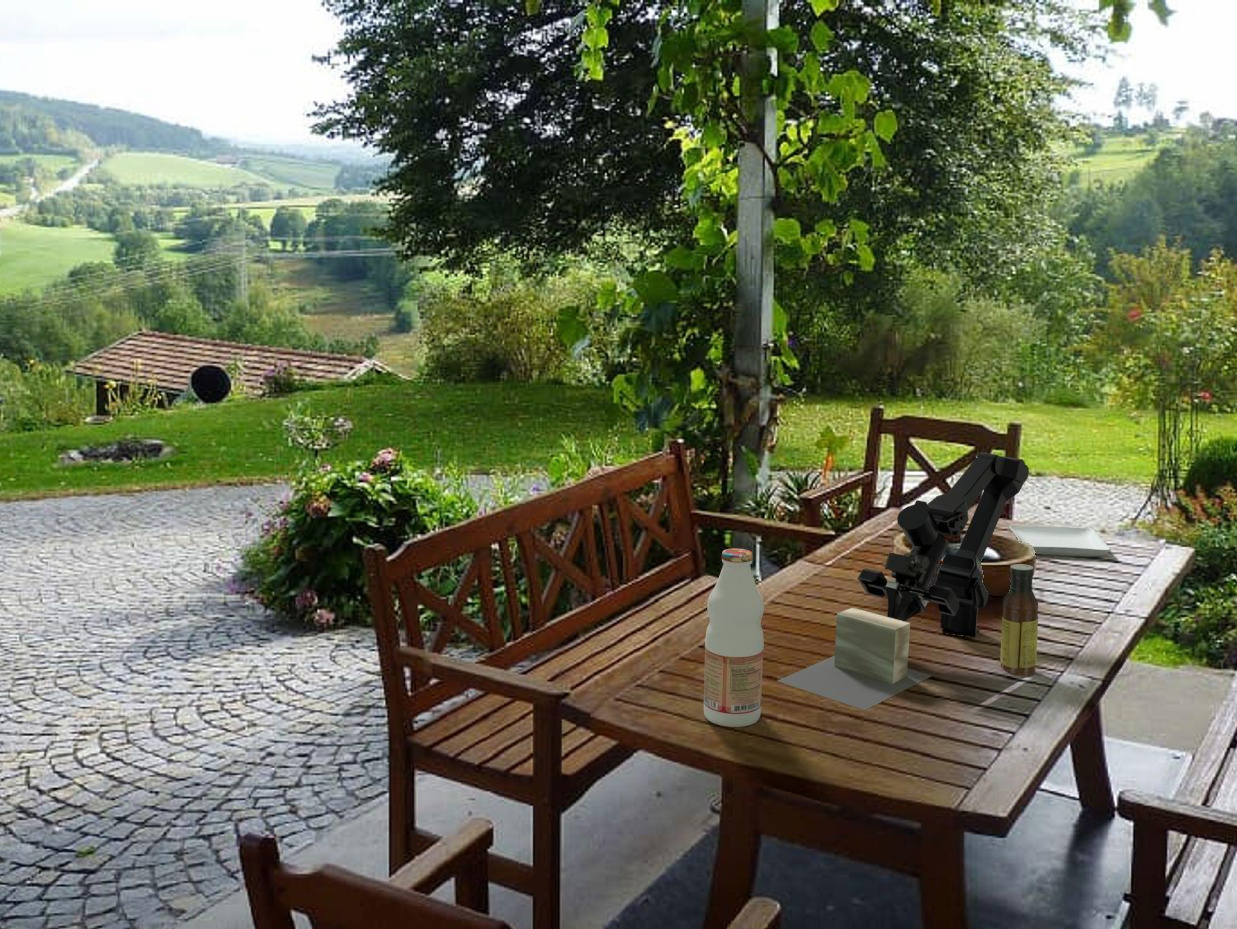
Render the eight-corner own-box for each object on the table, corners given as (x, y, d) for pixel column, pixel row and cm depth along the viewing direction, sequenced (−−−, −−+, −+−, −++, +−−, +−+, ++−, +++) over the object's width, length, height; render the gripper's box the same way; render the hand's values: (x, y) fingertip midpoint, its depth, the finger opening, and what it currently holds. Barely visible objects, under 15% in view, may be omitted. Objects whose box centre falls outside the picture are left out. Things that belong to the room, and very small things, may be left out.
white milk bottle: (693, 720, 190) (698, 554, 185) (717, 701, 198) (722, 541, 193) (747, 733, 186) (753, 563, 180) (769, 712, 194) (775, 549, 189)
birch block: (849, 659, 217) (852, 607, 215) (906, 676, 209) (910, 623, 207) (834, 666, 213) (836, 613, 211) (892, 683, 205) (895, 629, 203)
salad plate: (1021, 557, 290) (1022, 544, 290) (1007, 536, 311) (1008, 523, 310) (1111, 562, 287) (1112, 549, 286) (1091, 540, 307) (1092, 527, 307)
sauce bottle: (1035, 667, 215) (1044, 563, 211) (1035, 679, 210) (1044, 573, 206) (998, 663, 217) (1006, 560, 213) (997, 675, 212) (1005, 569, 208)
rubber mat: (846, 653, 222) (846, 650, 222) (931, 678, 209) (932, 675, 209) (776, 684, 206) (776, 680, 206) (864, 713, 194) (864, 710, 194)
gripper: (865, 526, 221) (829, 595, 215) (956, 545, 208) (920, 619, 202) (885, 559, 228) (851, 626, 222) (974, 579, 215) (940, 651, 209)
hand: (888, 629), depth 214 cm, fingers closed
